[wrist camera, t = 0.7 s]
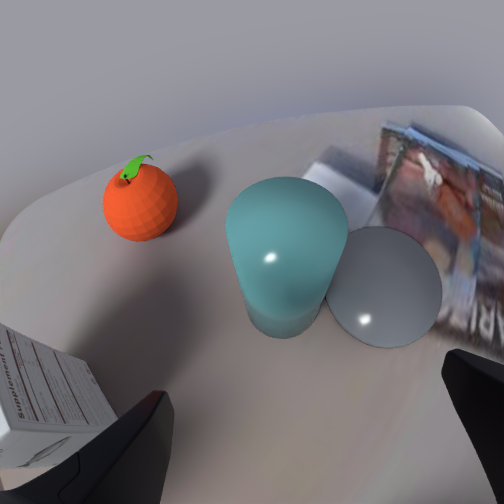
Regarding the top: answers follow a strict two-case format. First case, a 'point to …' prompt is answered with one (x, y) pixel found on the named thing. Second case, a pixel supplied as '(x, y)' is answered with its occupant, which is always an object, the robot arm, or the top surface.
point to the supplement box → (45, 403)
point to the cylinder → (285, 251)
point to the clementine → (140, 201)
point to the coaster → (384, 288)
